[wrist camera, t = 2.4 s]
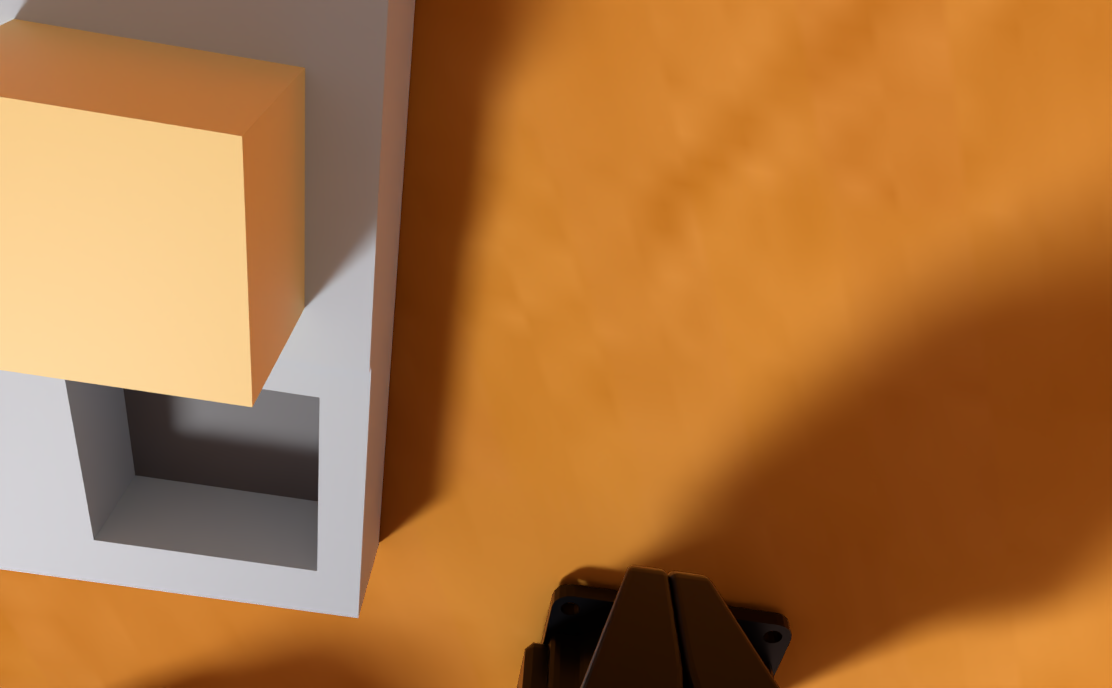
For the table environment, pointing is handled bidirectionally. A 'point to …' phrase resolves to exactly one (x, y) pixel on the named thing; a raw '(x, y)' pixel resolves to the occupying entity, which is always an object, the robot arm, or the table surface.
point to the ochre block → (148, 212)
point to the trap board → (295, 381)
